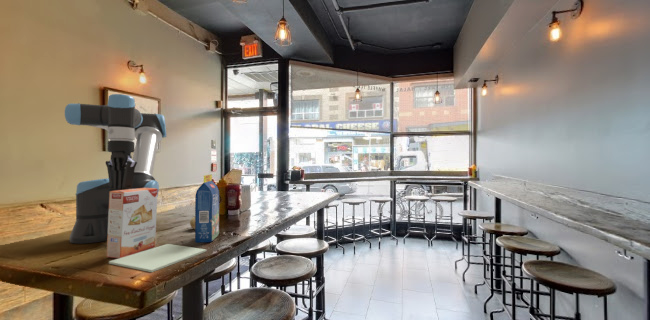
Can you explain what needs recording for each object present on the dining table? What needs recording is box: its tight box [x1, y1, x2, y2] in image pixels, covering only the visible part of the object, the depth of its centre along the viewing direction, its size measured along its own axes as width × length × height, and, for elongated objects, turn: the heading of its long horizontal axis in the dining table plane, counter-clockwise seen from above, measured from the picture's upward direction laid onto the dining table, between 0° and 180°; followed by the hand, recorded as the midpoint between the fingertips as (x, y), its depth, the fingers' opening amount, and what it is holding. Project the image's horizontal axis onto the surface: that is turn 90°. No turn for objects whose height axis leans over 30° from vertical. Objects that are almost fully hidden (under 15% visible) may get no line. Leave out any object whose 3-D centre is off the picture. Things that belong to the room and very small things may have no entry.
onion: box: [189, 216, 195, 231], centre depth 130 cm, size 8×8×7 cm
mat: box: [108, 243, 208, 273], centre depth 92 cm, size 18×20×1 cm
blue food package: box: [194, 174, 220, 243], centre depth 115 cm, size 6×12×25 cm, turn 8°
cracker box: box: [106, 188, 159, 259], centre depth 97 cm, size 14×6×21 cm, turn 168°
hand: (120, 210), depth 99 cm, fingers closed
